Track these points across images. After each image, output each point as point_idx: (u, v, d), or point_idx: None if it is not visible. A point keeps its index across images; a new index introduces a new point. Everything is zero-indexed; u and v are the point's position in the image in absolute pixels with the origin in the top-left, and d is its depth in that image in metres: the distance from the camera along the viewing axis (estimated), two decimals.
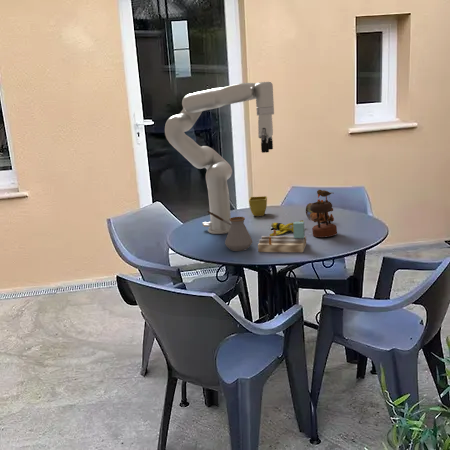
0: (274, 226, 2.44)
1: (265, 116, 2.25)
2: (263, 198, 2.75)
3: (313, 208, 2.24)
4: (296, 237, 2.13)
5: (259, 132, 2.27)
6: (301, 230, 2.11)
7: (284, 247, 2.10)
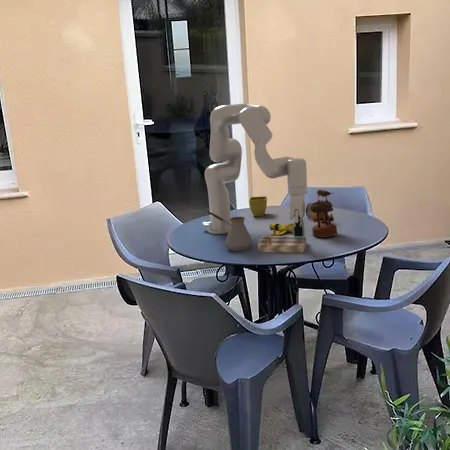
0: (272, 227, 2.43)
1: (298, 197, 2.05)
2: (263, 198, 2.75)
3: (313, 208, 2.24)
4: (296, 237, 2.13)
5: (291, 213, 2.07)
6: None
7: (284, 247, 2.10)
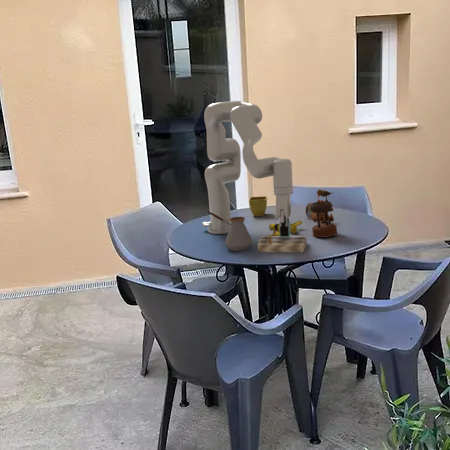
0: (272, 227, 2.43)
1: (283, 197, 2.07)
2: (263, 198, 2.75)
3: (313, 208, 2.24)
4: (282, 237, 2.14)
5: (277, 214, 2.08)
6: None
7: (284, 247, 2.10)
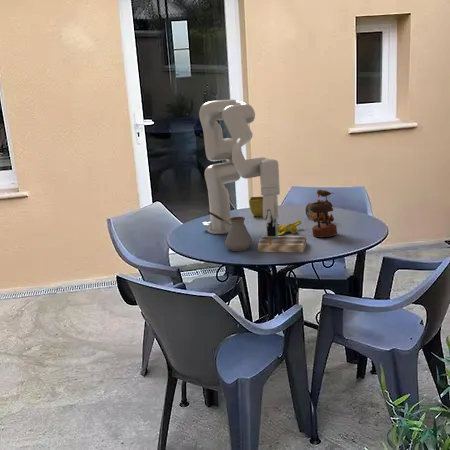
0: None
1: (270, 197, 2.08)
2: None
3: (313, 208, 2.24)
4: None
5: (264, 214, 2.10)
6: None
7: (284, 247, 2.10)
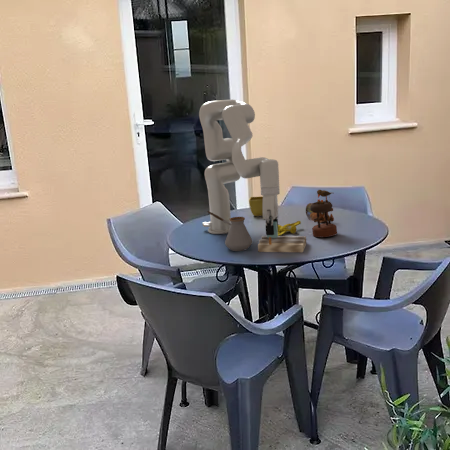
0: None
1: (270, 197, 2.08)
2: None
3: (313, 208, 2.24)
4: None
5: (263, 214, 2.10)
6: (274, 230, 2.14)
7: (284, 247, 2.10)
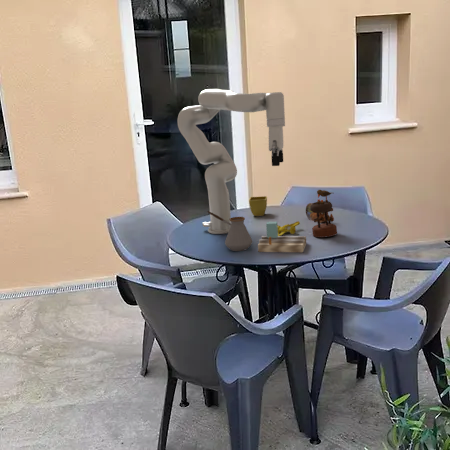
0: None
1: (276, 128, 2.15)
2: (263, 198, 2.75)
3: (313, 208, 2.24)
4: None
5: (269, 145, 2.17)
6: (274, 230, 2.14)
7: (284, 247, 2.10)
